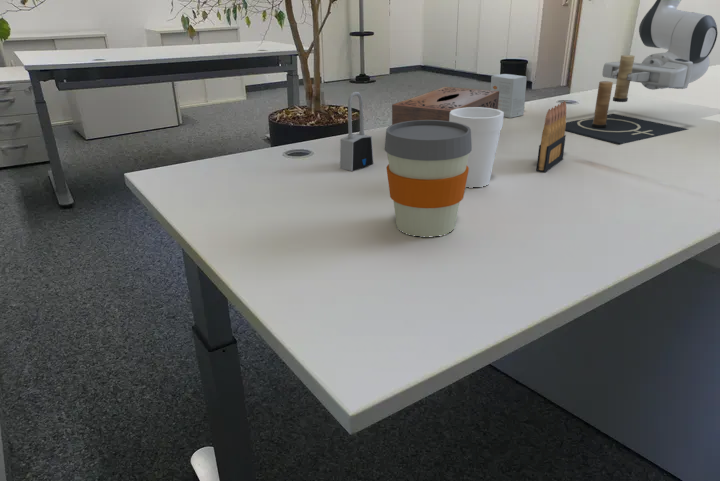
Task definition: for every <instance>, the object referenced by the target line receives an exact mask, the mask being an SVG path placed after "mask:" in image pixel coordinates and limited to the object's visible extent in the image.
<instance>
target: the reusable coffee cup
mask: <svg viewBox="0 0 720 481" xmlns="http://www.w3.org/2000/svg"><path fill="white" fill-rule="evenodd" d="M471 151H472V143H471V129H470V128H469V127H468V126H466V125H463V124H460V123H456V122H450V121H441V120H416V121H406V122H401V123H397V124H393V125H392V124H391V125H389V126H388V127H387V128H386V130H385V138H384V152H386V154H387V162H388V164H387V165H386V175H387V183H388V190H389V198H390V199H391V200H392V201H393V207H394V216H395V223H396V228H397V227H398V228H397V230H398V229H399V230H401V231H403V232H404V233H407V234H410V235H415V236H425V237H429V236H439V235H444V234H447V233H449V232H451V231H452V230H453V229H454V228H455V229H456V223H457V218H458V213H459V207H460V202H462V201H463V199H464V196H465V191H466V187H465V186H466V181H467V176H468V171H469V168H468V166H467V160H468V155H469V153H470V152H471ZM455 229H454V230H455ZM399 230H398V231H399ZM454 230H453V231H454ZM401 231H400V232H401ZM453 231H452V232H453ZM452 232H451V233H452ZM404 233H403V234H404ZM407 234H406V235H407ZM449 234H450V233H449ZM447 235H448V234H447ZM444 236H445V235H444Z"/></svg>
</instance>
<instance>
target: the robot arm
mask: <svg viewBox="0 0 720 481" xmlns="http://www.w3.org/2000/svg"><path fill="white" fill-rule="evenodd" d="M681 1H682V0H656V1H655V2H654V3H653V5H652V6H651V7H650V9H649V10H648V11H647V12H646V13H645V15H644V16H643V18H642V19H641V21H640V24H639V27H638V35H639V38H640V40H641V42H642V44H643V45H644V47H648V48H654V49H655V48H656V49H663V50H667V51H665V52H658V53H651V54H649V55H648V56H646V57H645V58H644V59H643V60H642V61H641V62H634V63H633V68H632V73H629V74H628V75H627V77H628V78H627V81H630V82H633V83H634V82H635V83H641V85H642V86H643V87H644V88H646V89H648V90H652V91H653V90H654V91H655V90H664V89H677V90H685V89H687V88H688V86H689V85H690V84H691V83H694V82H696V81H698V80H699V79H700V78H702V77H703V76H704V75H705V74H706V73H707V72H708V69H709V67H710V63H711V62H710V55H711V53H712V51H713V49H714V47H715V45H716V42H717V40H718V39H717V38H718V24H717V22H716V20H715V18H714V17H713V16H712V15H709V14H705V13H699V12H694V11H686V10H681V9H678V6H679V5H680V4H681ZM619 65H620V61H609V62H605V63H604V64H603V68H602V75H601V76H602V77H603V78H607V79H614V80H617V77H618V71H619Z"/></svg>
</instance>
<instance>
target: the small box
mask: <svg viewBox="0 0 720 481" xmlns="http://www.w3.org/2000/svg"><path fill="white" fill-rule="evenodd" d="M490 78H491V79H490V90H492V91H499V102H498V110H500V111H502V112H504V118H509V119H511V118H516V117H520V116H524V114H525V103H526V90H527V79H528V77H527V76H525V75H517V74H511V73H500V74H494V75H491V77H490Z"/></svg>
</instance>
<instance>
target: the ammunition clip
mask: <svg viewBox="0 0 720 481" xmlns="http://www.w3.org/2000/svg"><path fill="white" fill-rule="evenodd" d="M566 122H567V102H566V101H565V100H563V102H560V104H559V103H558V104H557V105H555V106H554V107H551V108H549V109H548V110H547V112H546V114H545V118H544V124H543V129H542V132H541V141H540V144H539V145H538V153H537V161H536V168H535V169H536V170H535V171H536V172H541V173H547V172H548V171H549V170H551V169H552V168H553V167H555V166H556V165H558V163H560V162H561V161H562V160H564V152H565V144H566V135H565V134H566V131H565V127H566Z"/></svg>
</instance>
